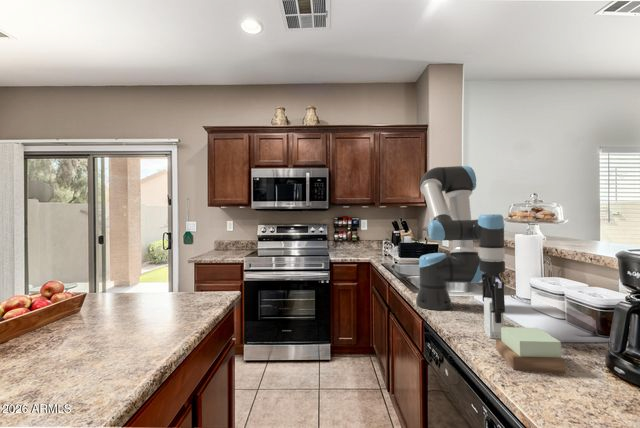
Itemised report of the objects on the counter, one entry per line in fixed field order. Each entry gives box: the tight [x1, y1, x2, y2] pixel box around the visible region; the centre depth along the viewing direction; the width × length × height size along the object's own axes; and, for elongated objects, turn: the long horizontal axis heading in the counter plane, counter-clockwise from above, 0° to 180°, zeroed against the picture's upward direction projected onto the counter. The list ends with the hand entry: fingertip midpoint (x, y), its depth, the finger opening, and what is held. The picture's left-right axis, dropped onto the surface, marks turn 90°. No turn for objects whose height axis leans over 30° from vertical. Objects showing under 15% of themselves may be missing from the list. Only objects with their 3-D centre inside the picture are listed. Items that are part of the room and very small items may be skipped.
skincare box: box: [483, 298, 504, 339], centre depth 102 cm, size 6×4×12 cm
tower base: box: [495, 338, 567, 374], centre depth 84 cm, size 12×12×4 cm
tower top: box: [501, 326, 562, 357], centre depth 84 cm, size 10×10×4 cm
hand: (493, 328), depth 102 cm, fingers closed on skincare box, 6 cm apart
